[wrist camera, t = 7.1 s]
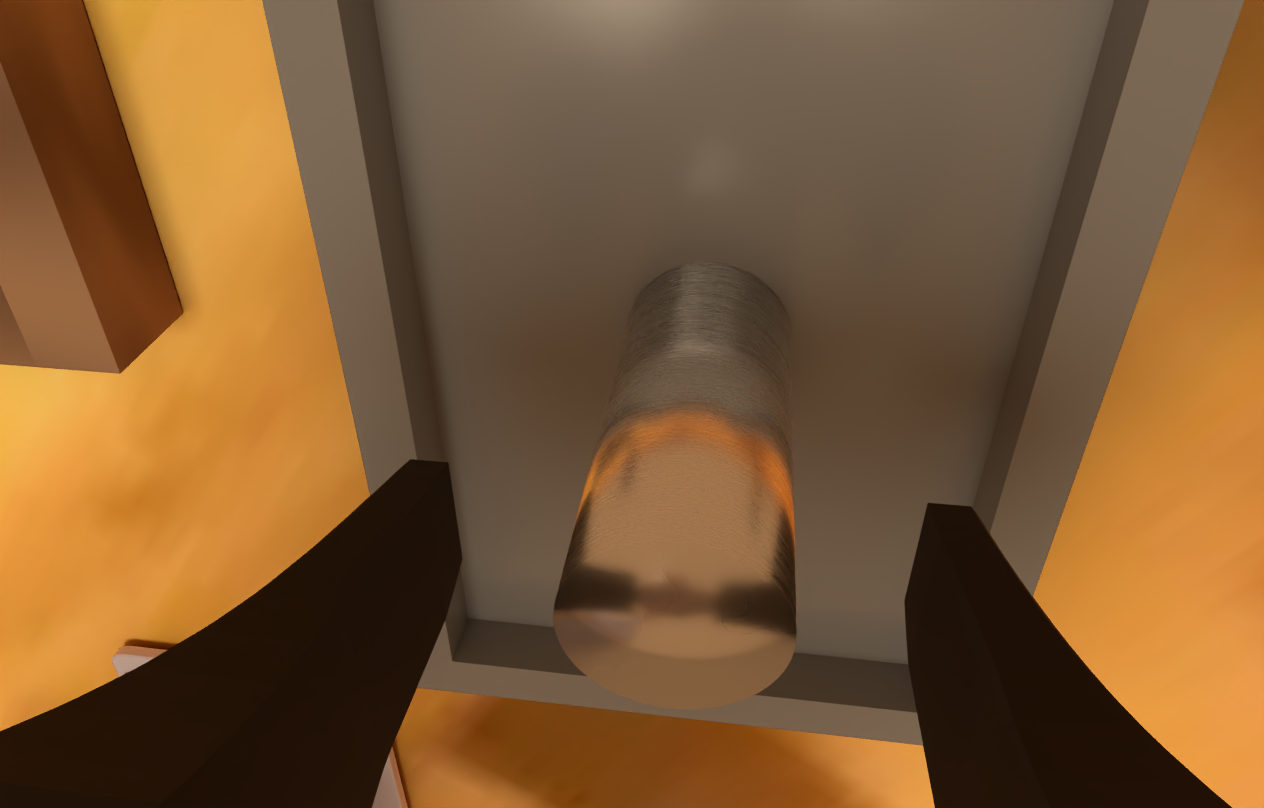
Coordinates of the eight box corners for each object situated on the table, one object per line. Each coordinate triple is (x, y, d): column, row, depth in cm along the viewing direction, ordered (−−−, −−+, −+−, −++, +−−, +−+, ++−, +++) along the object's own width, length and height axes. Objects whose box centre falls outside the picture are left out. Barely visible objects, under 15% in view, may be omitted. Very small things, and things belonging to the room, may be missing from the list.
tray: (965, 683, 24) (977, 751, 22) (435, 627, 26) (411, 687, 24) (1274, -286, 12) (1346, -289, 11) (269, -282, 14) (200, -283, 12)
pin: (788, 404, 19) (792, 715, 13) (632, 401, 20) (567, 701, 13) (793, 261, 17) (800, 547, 11) (621, 262, 18) (539, 537, 12)
